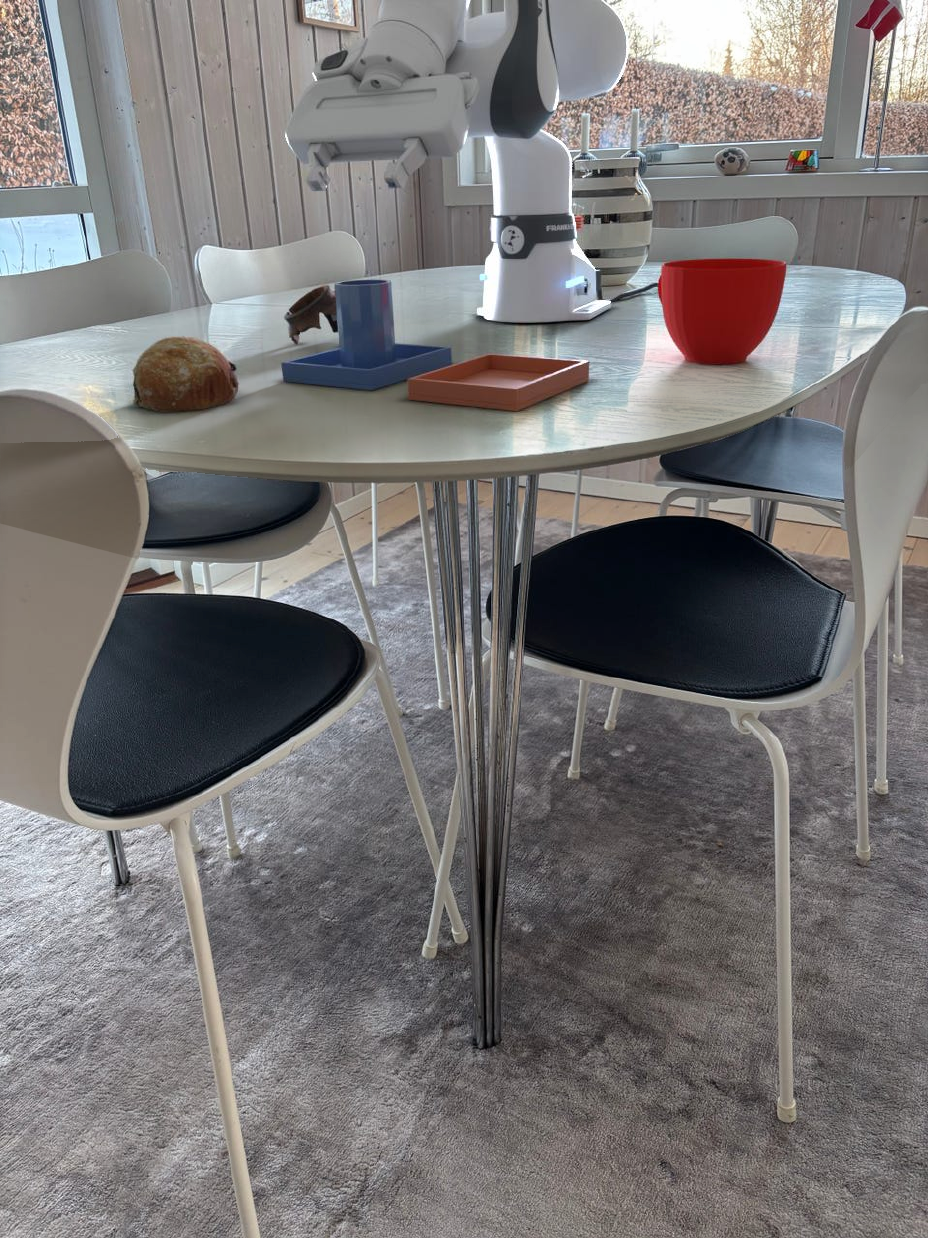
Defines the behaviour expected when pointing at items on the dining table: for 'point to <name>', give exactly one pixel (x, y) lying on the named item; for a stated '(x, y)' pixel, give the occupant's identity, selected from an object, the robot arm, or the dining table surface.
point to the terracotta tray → (499, 381)
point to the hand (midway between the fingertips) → (353, 185)
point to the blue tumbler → (365, 323)
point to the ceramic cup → (720, 306)
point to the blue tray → (330, 372)
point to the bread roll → (183, 376)
